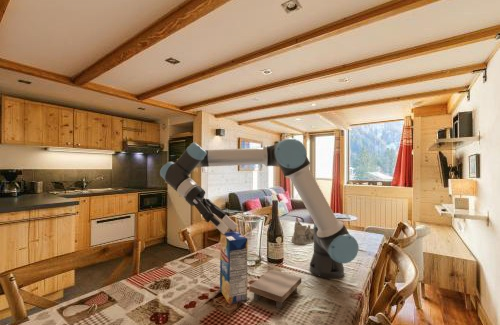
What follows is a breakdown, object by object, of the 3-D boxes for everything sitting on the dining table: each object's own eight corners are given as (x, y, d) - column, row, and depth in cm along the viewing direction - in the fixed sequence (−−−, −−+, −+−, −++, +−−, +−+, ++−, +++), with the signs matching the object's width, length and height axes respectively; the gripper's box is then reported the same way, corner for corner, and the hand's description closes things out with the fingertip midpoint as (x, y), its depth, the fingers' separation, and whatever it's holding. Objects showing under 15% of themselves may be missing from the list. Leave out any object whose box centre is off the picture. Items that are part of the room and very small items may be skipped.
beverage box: (228, 304, 84) (229, 240, 84) (219, 289, 94) (220, 232, 94) (247, 300, 86) (247, 238, 87) (236, 286, 96) (237, 230, 97)
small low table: (271, 281, 101) (271, 269, 101) (301, 290, 94) (301, 277, 94) (249, 299, 87) (249, 285, 87) (281, 312, 79) (282, 296, 79)
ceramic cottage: (289, 243, 151) (291, 219, 152) (292, 236, 167) (294, 215, 168) (315, 247, 147) (317, 222, 148) (316, 240, 163) (317, 218, 163)
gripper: (197, 201, 106) (233, 234, 100) (169, 198, 82) (213, 241, 76) (208, 188, 106) (244, 220, 101) (184, 181, 82) (229, 223, 76)
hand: (231, 229), depth 88 cm, fingers open, 13 cm apart
